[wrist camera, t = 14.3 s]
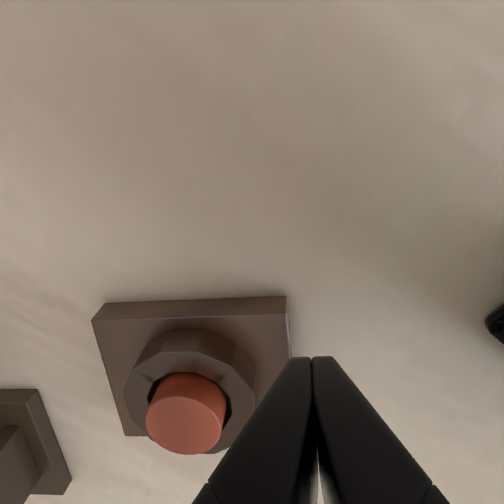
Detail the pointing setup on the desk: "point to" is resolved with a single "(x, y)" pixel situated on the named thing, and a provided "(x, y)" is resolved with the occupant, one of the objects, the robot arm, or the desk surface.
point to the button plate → (193, 353)
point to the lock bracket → (28, 449)
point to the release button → (186, 413)
